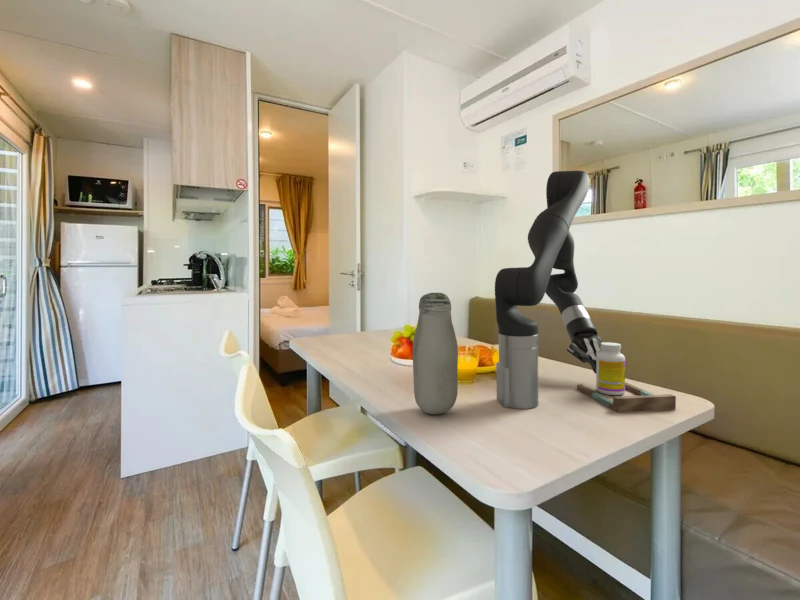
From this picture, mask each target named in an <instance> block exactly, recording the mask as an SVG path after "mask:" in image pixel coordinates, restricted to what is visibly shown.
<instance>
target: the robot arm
mask: <svg viewBox="0 0 800 600" xmlns="http://www.w3.org/2000/svg"><path fill="white" fill-rule="evenodd" d="M590 182H591V181H590V177H589V174H588V172H586V171H584V170H559V171H558V170H556V171H553V172H551V173H550V175H549V176H548V178H547V181H546V189H545V190H546V191H545V192H546V194H545V195H546V198H545V199H546V207H547V208H545V209H544V210H542V211H541V212H540V213H539V214H538V215H537V216H536V217H535V219H534V221H533V223H532V225H531V227H530V228H529V231H528V234H527V242H528V246H529V248H530V251H531V252H532V254H533V256H534V260H533V262H532V264H531V265H530V266H527V267H525V266H524V267H523V266H522V267H521V266H520V267H506V268H505V267H503V268H502V269H500V270H499V271H498V272H497V273H496V277H495V282H494V299H495V314H496V315H495V319H496V323H497V328H498V329H497V330H498V362H496V364H495V369H496V370H495V371H496V375H495V376H496V378H495V379H496V382H495V384H496V387H495V388H496V400H497V401H498V403H499V404H501V406H503V408H512V409H521V410H522V409H523V410H524V409H525V410H527V409H532V408H536V407H537V406H538V405H539V324H538V323H537V321H535V320H533V319H531V318H529V317H527V316H525V315H524V314H522V313H521V312H520V311H519V309H518V307H519V306H520V307H533V306H538V305H539V303H541V301H543V298H544V296H545V294H546V296H547V297H548V298H549V299H550V300H551V301H552V302H553V303H554V305H555V306H556V307H557V309H558V311H559V313H560V315H561V319H562V322H563V324H564V327H565V330H566V332H567V334H568V337H569V338H570V340H571V343H570V344H569V346H568V347H567V349H566V351H567V352H568V353H569V354H571V355H572V356H574V357H575V358H576V359H577V360H579V361H580V362H581V363H583V364H585V363H588V364H589V365H590V368H591V369H592V371H593V373H594V374H596V356H597V354H598V353H600V352H601V343H605V342H604V341H603V340H602V338H601V337H600V336H599V334H598V331H597V328H596V327H595V324H594V322H593V320H592V317H591V315H590V314H589V312H588V311H587V309H586V308H585V306H584V304H583V302H582V300H581V298H580V296H579V295H578V294H577V293H575V292H576V291H577V289H578V287H579V283H578V282H579V281H578V279H577V278H578V277H577V275H576V270H575V269H576V268H575V263H574V259H575V258H574V256H575V255H574V254H575V240H574V236H573V235H572V232H571V231H570V228H571V226H572V223H573V220H574V218H575V216H576V214H577V213H578V211H579V209H580V208H581V206H582V204H583V203H584V201H585V199H586V197H587V194H588V192H589V188H590V184H591V183H590ZM553 269H554V270H561V271H563V273H553V274H552V271H553Z"/></svg>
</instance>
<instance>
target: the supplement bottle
mask: <svg viewBox="0 0 800 600" xmlns="http://www.w3.org/2000/svg"><path fill="white" fill-rule="evenodd" d="M621 349H622V344H621V343H617V342H611V341H609V342H607V341H606V342H605V343H601V346H600V353H598V354H597V356H596V376H595V377H596V380H595V381H596V383H595V384H596V386H595V387H596V389H595V390H596V391H598V393H599V394H604V395H609V396H622V395H624V394H625V392H626V389H625V383H626V356H625V355H624V354H623V353H622V352H621Z"/></svg>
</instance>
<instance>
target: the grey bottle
mask: <svg viewBox="0 0 800 600" xmlns="http://www.w3.org/2000/svg"><path fill="white" fill-rule="evenodd" d="M418 312H419V313H418V318H417V323H416V329H415V331H414V335H413V341H412V370H413V372H412V375H413V393H414V399H415V403H416V404H417V407H419V409H420V410H421V411H422V412H424V413H426V414H429V415H440V414H441V415H442V414H445V413H447V412H448V411H450V410H452V408H453V407H454V405H455V403H456V401H457V397H458V389H459V388H458V387H459V385H458V384H459V383H458V370H459V369H458V367H459V366H458V365H459V359H458V357H459V351H458V350H459V347H458V340H457V337H456V332H455V329H454V325H453V321H452V320H453V318H452V303H451V300H450V298H449V297H448V295H447V294H446V293H445V294H444V293H443V292H429V293H426V294H423V295H422V296H421V297H420V299H419V302H418Z"/></svg>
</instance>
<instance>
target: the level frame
mask: <svg viewBox="0 0 800 600" xmlns="http://www.w3.org/2000/svg"><path fill="white" fill-rule="evenodd" d="M576 389H577V390H578V391H580V392H582V393H583V394H585V395H587V396H589V397H591V398H593V400H596V401H598V402H599V403H601V404H603V405H605V406H607V407H608V408H609V409H611V410H613V411H616V412H617V413H619V412H620V413H621V412H622V413H623V412H638V411H639V412H643V411H660V410H661V411H663V410H667V411H668V410H676V401H677V399H676V398H677V397H676V395H674V394H671V393H669V394H668V393H667V394H654V393H652V392H649V391H647V390H645V389H642V388H639V387H637V386H636V385H632V384H630V383H628V382H625V390H627V389H628V390H627V391H629V390H630V391H629V392H632V393H634V394H636V393H637V394H636V395H626V396H625V395H624V396H622V395H616V396H613V397H612V400H611V399H609V398H608V397H605V396H604V395H602V394H601V393H599V392H596V391H595V390H593V389H591V388H589V387H587V386H586V385H584V384H580V383H579V384H577V385H576ZM638 394H639V395H638Z"/></svg>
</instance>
